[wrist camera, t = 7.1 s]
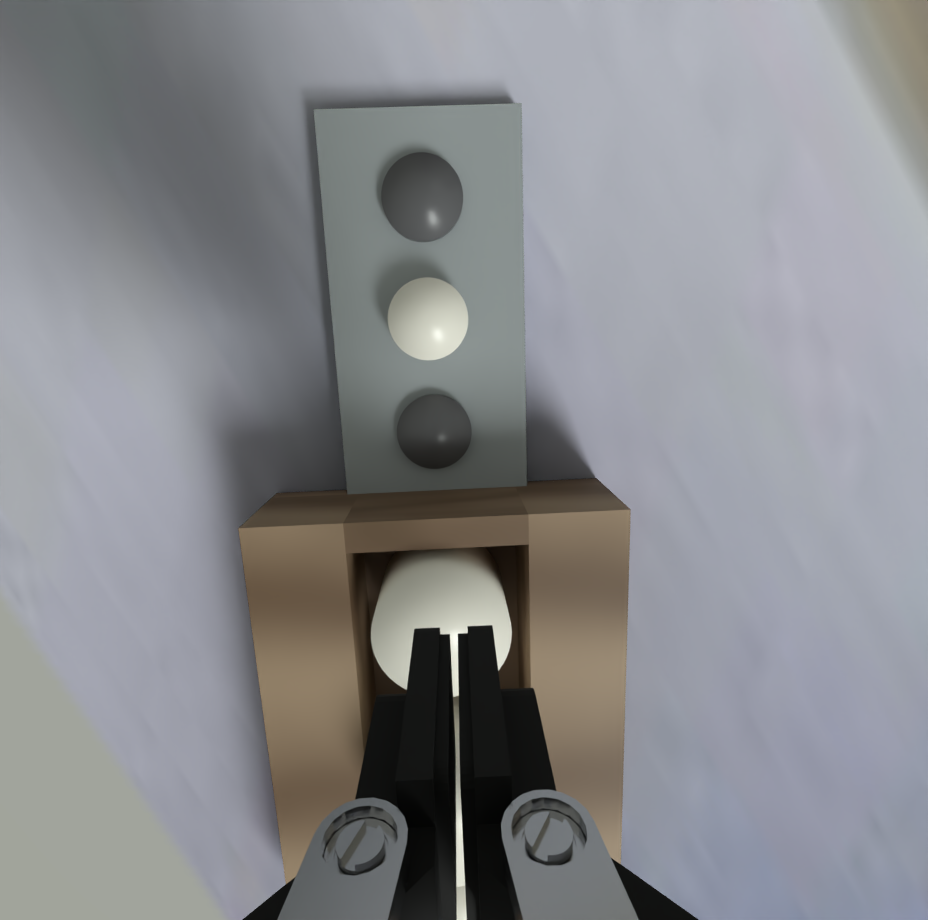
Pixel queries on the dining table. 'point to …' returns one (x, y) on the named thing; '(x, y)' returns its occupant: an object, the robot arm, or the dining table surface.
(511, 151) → the card
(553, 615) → the wooden egg tray
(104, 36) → the dining table surface
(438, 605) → the white egg
